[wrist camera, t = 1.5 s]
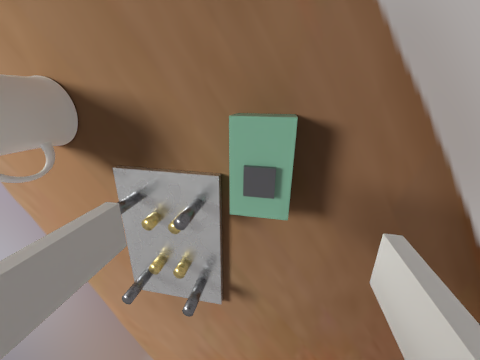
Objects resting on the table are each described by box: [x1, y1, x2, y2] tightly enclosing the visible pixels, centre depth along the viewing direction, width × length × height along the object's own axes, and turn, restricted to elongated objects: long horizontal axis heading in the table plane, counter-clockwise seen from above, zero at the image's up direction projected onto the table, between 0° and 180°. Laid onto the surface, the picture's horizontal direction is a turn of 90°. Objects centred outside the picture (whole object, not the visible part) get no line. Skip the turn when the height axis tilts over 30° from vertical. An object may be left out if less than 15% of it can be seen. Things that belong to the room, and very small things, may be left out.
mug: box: [0, 74, 78, 183], centre depth 23 cm, size 12×8×12 cm
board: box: [229, 113, 298, 220], centre depth 23 cm, size 10×6×5 cm, turn 179°
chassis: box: [113, 166, 223, 316], centre depth 28 cm, size 20×14×6 cm
